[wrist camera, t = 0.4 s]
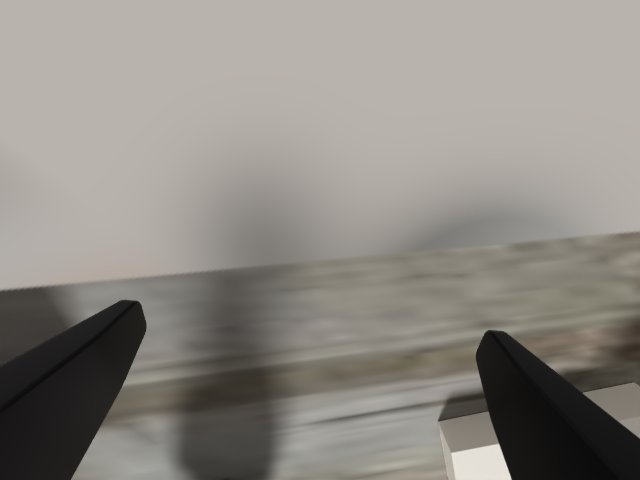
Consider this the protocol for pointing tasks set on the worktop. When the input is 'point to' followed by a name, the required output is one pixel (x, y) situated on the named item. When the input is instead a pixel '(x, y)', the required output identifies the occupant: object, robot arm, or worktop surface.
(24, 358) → the robot arm
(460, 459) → the socket block
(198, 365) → the worktop surface
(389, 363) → the worktop surface
